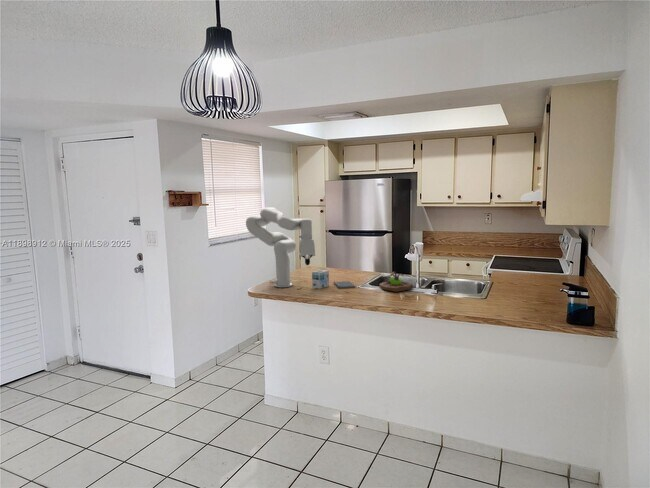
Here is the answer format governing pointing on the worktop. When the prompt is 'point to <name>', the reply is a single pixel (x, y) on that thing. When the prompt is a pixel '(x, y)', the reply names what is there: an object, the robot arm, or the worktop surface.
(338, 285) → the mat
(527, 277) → the worktop surface
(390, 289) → the plant
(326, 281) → the light bulb box
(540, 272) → the worktop surface
